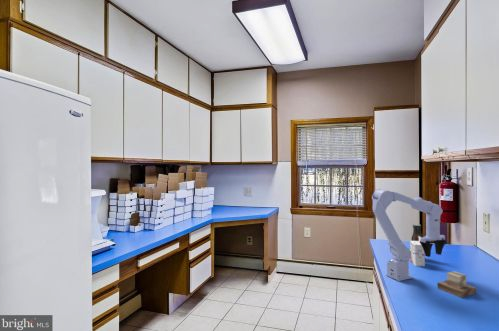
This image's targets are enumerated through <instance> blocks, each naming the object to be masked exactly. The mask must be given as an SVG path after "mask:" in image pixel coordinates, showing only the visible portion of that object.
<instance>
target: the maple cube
mask: <svg viewBox="0 0 499 331" xmlns="http://www.w3.org/2000/svg"><path fill="white" fill-rule="evenodd" d="M446 281H447V284H448V285H451V286H453V287H456V288H459V289H460V288H463V287H466V284H467V274H465V273H461V272H458V271H455V270H453V271H449V272H446Z"/></svg>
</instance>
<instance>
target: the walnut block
mask: <svg viewBox="0 0 499 331" xmlns="http://www.w3.org/2000/svg"><path fill="white" fill-rule="evenodd" d="M437 289H438V290H441V291H442V292H443V291H444V292H445V293H449V294H451V295H453V296H455V297H458V298H460V299H461V298H466V297H469V296H472V295H476V294H477V287H475V286H473V285H470V284H468V283H466V287H463V288H460V289H459V288H456V287H453V286H451V285H448V284H447V280H443V281H438V282H437Z"/></svg>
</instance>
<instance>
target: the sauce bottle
mask: <svg viewBox="0 0 499 331" xmlns="http://www.w3.org/2000/svg"><path fill="white" fill-rule="evenodd" d="M412 228H413V232H412V234H411V235H412V236H411V238H410V239H411V240H410V241H419V237H418V236H420V237H421V238H422V237H424V236H423V234H422V231H421V229H422V225H421V224H417V223H416V224H415V223H413V224H412Z"/></svg>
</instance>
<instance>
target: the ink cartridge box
mask: <svg viewBox="0 0 499 331" xmlns="http://www.w3.org/2000/svg"><path fill="white" fill-rule="evenodd" d="M418 237H419V241H411V240H409V246H410V247H409V250H410V251H411V258H410V259H409V260H410V262H411V263H412V264H413V265H414V266H415V267H426V263H425V262H426V257H425V253H424V249H423V247H422V245H421V244H420V241H421V237H420V236H418Z"/></svg>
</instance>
